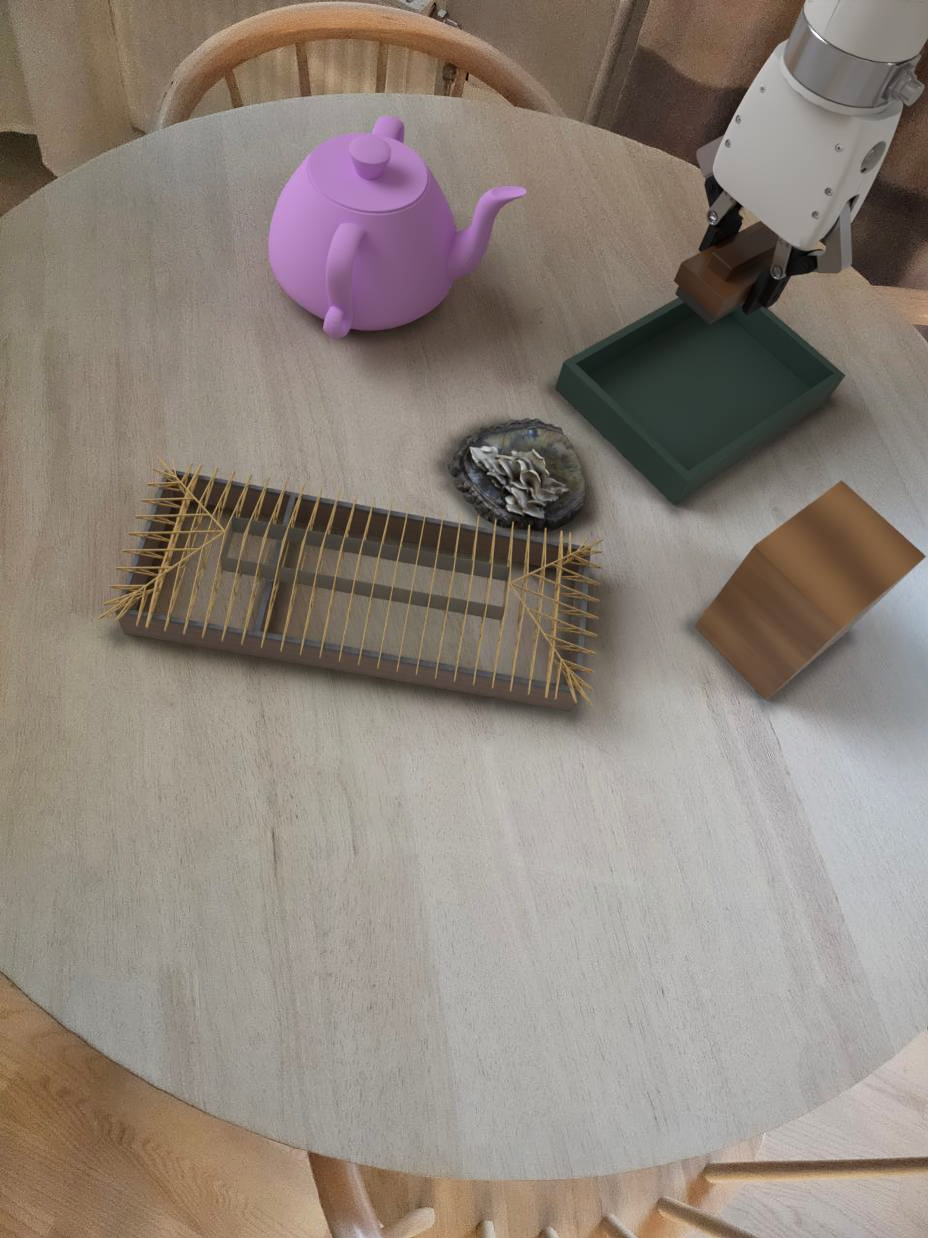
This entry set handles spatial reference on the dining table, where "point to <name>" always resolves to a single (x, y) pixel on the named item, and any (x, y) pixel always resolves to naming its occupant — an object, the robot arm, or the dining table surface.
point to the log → (520, 475)
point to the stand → (806, 587)
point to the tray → (696, 391)
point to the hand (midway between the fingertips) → (732, 283)
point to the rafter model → (354, 583)
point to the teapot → (373, 233)
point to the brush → (725, 272)
